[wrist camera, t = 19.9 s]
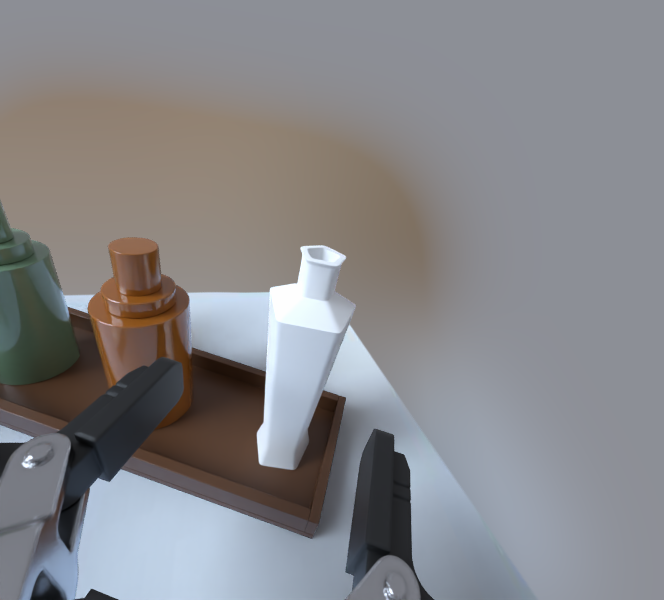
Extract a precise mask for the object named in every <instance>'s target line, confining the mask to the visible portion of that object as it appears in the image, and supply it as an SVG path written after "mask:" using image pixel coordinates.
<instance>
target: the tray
mask: <svg viewBox="0 0 664 600" xmlns="http://www.w3.org/2000/svg"><path fill="white" fill-rule="evenodd" d="M67 308H68V311H69V314H70V318H71V321H72V324H73V327H74V330H75V334H76V337H77V340H78V343H79V347H80V351H81V352H80V356H79V358H78V360H77V361H76V362H75V364H73V365H72V366H71V367H70V368H69V369H67V370H66V371H64V372H63V373H61V374H59V375H57V376H55V377H53V378H50V379H47V380H44V381H41V382H37V383H33V384H26V385H7V384H2V383H0V425H2V426H5V427H8V428H10V429H13V430H16V431H19V432H21V433H24V434H27V435H30V436H32V437H35V438H36V437H38V436H41V435H45V434H50V433H56V432H58V431H59V430H61V429H62V428H63V427H65V426H66V425H67V424H68V423H70V422H71V421H72V420H73V419H74V418H75V417H77V416H78V415H79V414H80V413H81V412H82V411H84V410H85V409H86V408H87V407H88V406H90V405H91V404H92V403H93V402H94V401H95V400H97V399H98V398H99V397H100V396H101V395H103V394H105V393H106V391H107V390H108V389H109V388H108V384H107V380H106V377H105V373H104V369H103V365H102V362H101V358H100V354H99V351H98V347H97V343H96V339H95V336H94V332H93V328H92V324H91V321H90V317H89V314H88V313H85V312H82V311H79V310H76V309H73V308H70V307H67ZM192 366H193V388H194V398H193V402H192V404H191V406H190V408H189V409H188V411H187V412H186V413H185V414H184V415H183V416H182V417H181V418H179V419H178V420H177V421H175V422H174V423H172V424H170V425H168V426H165V427H163V428H160V429H156V430H154V431H153V432H152V433H151V434H150V435H149V436H148V438H147V439H146V440H145V441H144V442H143V443H142V445H141V446H140V447H139V448H138V449H137V450H136V452H135V453H134V454H133V455H132V456H131V457H130V459H129V460H128V461H127V462H126V463H125V464H124V466H123V467H122V468H121V469H123V470H125V471H128V472H131V473H133V474H136V475H139V476H142V477H144V478H147V479H150V480H153V481H155V482H158V483H161V484H164V485H166V486H169V487H172V488H175V489H177V490H180V491H183V492H185V493H188V494H191V495H194V496H196V497H199V498H202V499H205V500H207V501H210V502H213V503H216V504H218V505H221V506H224V507H226V508H229V509H232V510H235V511H237V512H240V513H243V514H246V515H248V516H251V517H254V518H257V519H259V520H262V521H265V522H267V523H270V524H273V525H276V526H278V527H281V528H284V529H287V530H289V531H292V532H295V533H298V534H300V535H303V536H306V537H308V538H311V539H312V538H313V536H314V534H315V531H316V529H317V527H318V524H319V520H320V516H321V511H322V507H323V502H324V497H325V493H326V488H327V484H328V479H329V474H330V470H331V465H332V461H333V456H334V451H335V447H336V442H337V438H338V433H339V428H340V424H341V419H342V414H343V410H344V405H345V401H346V398H345V397H342V396H339V395H336V394H333V393H330V392H327V391H324V390H323V392H322V394H321V397H320V399H319V402H318V404H317V407H316V409H315V412H314V414H313V417H312V420H311V422H310V425H309V427H308V436H309V443H308V445H307V447H306V450H305V452H304V454H303V456H302V458H301V460H300V462H299V464H298V467H297V468H296V469H295V470H289V469H283V468H276V467H269V466H263V465H260V463H259V458H258V445H257V432H258V430H259V428H260V427H261V425H262V424H263V422H264V404H265V383H266V372H265V371H262V370H259V369H256V368H253V367H250V366H247V365H244V364H241V363H238V362H235V361H232V360H229V359H226V358H223V357H220V356H216V355H213V354H210V353H207V352H204V351H201V350H198V349H195V348H192Z"/></svg>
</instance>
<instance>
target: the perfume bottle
mask: <svg viewBox="0 0 664 600" xmlns="http://www.w3.org/2000/svg"><path fill="white" fill-rule="evenodd" d="M301 251H302V254H303V255H302V261H301V267H300V273H299V278H298V283H295V284H289V285H283V286H277V287H272V288H270V300H269V321H268V342H267V362H266V383H265V404H264V422H263V424H262V425H261V427H260V428H259V430H258V432H257V445H258V458H259V463H260V465H263V466H269V467H276V468H283V469H289V470H295V469H296V468H297V467H298V464H299V462H300V460H301V458H302V456H303V454H304V452H305V450H306V447H307V445H308V443H309V436H308V427H309V425H310V422H311V420H312V417H313V414H314V412H315V409H316V407H317V404H318V402H319V399H320V397H321V394H322V392H323V389H324V387H325V384H326V381H327V379H328V376H329V374H330V371H331V369H332V366H333V364H334V361H335V359H336V356H337V354H338V351H339V349H340V346H341V343H342V341H343V338H344V336H345V333H346V331H347V328H348V326H349V323H350V321H351V318H352V315H353V313H354V310H355V308H356V305H355V304H354V303H352V302H351V301H349V300H348V299H346V298H345V297H343V296H342V295H340V294H339V293H337V292H335V287H336V283H337V279H338V276H339V272H340V268H341V264H342V263H343V262H344V261H345V259H346V257H345V255H343V254H341V253H339V252H337V251H335V250H333V249H331V248H329V247H327V246H321V245H320V246H302V247H301Z"/></svg>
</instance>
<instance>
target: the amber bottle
mask: <svg viewBox="0 0 664 600" xmlns="http://www.w3.org/2000/svg"><path fill="white" fill-rule="evenodd" d="M108 249H109V254H110V258H111V264H112V269H113V274H114V277H113V278H111V279H109V280H108V281H106V282H105V283H104V284H103V285H102V287H101V291H100V292H98V293H97V294H96V295H94V296H93V297H92V299H91V300H90V302H89V304H88V313H89V317H90V321H91V324H92V328H93V332H94V336H95V339H96V343H97V347H98V351H99V354H100V358H101V362H102V365H103V369H104V373H105V377H106V380H107V384H108V388H109V389H110V388H111V387H112V386H113V385H116V383H117V382H118V381H119V380H120V379H121V378H123V377H124V376H125V375H126V374H127V373H129V372H131V371H133V370H135V369H137V368H139V367H141V366H143V365H144V366H147V367H149V366H150V365H151V364H153V363H154V362H155V361H156V360H157V359H158V358H160V357H166V358H169V359H172V360H175V361H178V362H180V363H182V368H183V382H184V390H183V394H182V396H181V398H180V400H179V401H178V403H177V404H176V405H175V406H174V407H173V408H172V410H171V411H170V412H169V413H168V414H167V415H166V417H165V418H164V419H163V420H162V421H161V422H160V424H159V425H158V426H157V427H156V428H155V429H154V430H156V429H160V428H163V427H165V426H168V425H170V424H172V423H174V422H175V421H177V420H178V419H179V418H181V417H182V416H183V415H184V414H185V413H186V412H187V411H188V409H189V408H190V406H191V404H192V402H193V398H194V388H193V366H192V344H191V322H190V300H189V296H188V294H187V293H186V291H185V290H183V289H182V288H181V287H179V286H177V285H175V283H174V281H173V280H172V279H171V278H170V277H168V276H166V275H163V274H161V268H160V258H159V248H158V245H157V243H156V242H154V241H152V240H149V239H145V238H135V237H134V238H133V237H132V238H121V239H117V240H114V241H112V242H111V243H110V244H109V245H108Z"/></svg>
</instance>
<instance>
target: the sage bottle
mask: <svg viewBox="0 0 664 600" xmlns="http://www.w3.org/2000/svg"><path fill="white" fill-rule="evenodd" d="M80 352H81V351H80V347H79V343H78V340H77V337H76V334H75V330H74V327H73V324H72V321H71V318H70V314H69V311H68V308H67V305H66V301H65V298H64V295H63V292H62V289H61V285H60V282H59V279H58V276H57V272H56V269H55V266H54V263H53V260H52V256H51V254H50V250H49V248H48V247H47V246H46V245H45V244H43V243H41V242H38V241H34V240H31V238H30V235H29V234H28V233H26V232H24V231H22V230H18V229H14V228H11V227H10V224H9V222H8V219H7V216H6V214H5V211H4V208H3V206H2V203H1V200H0V383H2V384H7V385H26V384H33V383H37V382H41V381H44V380H47V379H50V378H53V377H55V376H57V375H59V374H61V373H63V372H64V371H66V370H67V369H69V368H70V367H71V366H72V365H73V364H75V362H76V361H77V360H78V358H79V356H80Z"/></svg>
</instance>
